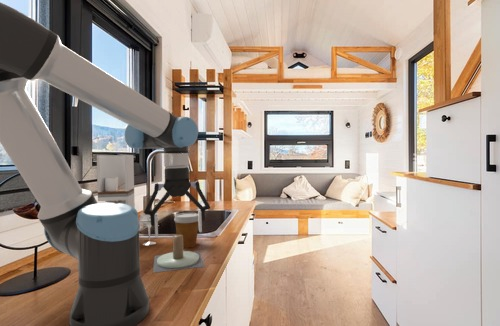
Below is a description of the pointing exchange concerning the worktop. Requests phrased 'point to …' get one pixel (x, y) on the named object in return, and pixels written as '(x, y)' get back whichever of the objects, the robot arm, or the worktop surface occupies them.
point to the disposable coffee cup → (187, 228)
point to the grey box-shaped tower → (115, 179)
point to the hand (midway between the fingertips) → (178, 233)
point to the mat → (160, 269)
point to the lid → (178, 256)
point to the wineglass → (147, 225)
